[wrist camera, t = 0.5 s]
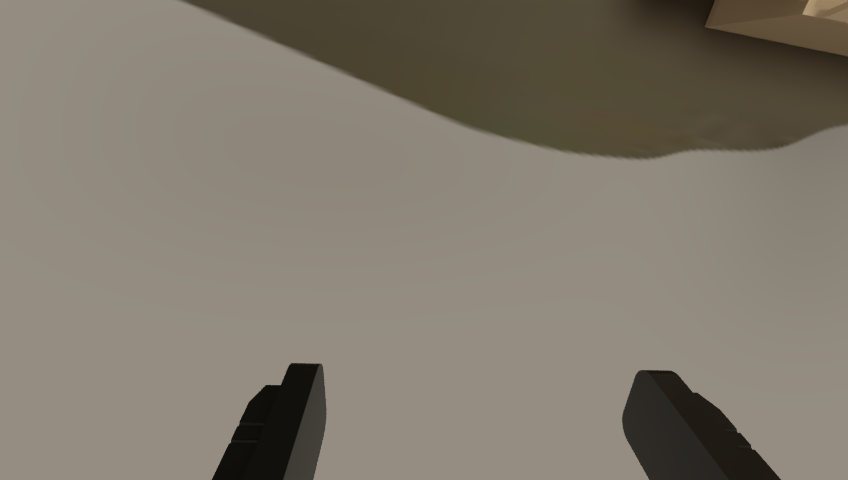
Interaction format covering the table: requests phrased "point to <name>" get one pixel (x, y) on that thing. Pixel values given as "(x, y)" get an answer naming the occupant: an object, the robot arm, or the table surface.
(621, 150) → the table surface
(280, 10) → the table surface
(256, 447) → the robot arm
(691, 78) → the table surface
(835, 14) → the flap
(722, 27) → the carton
